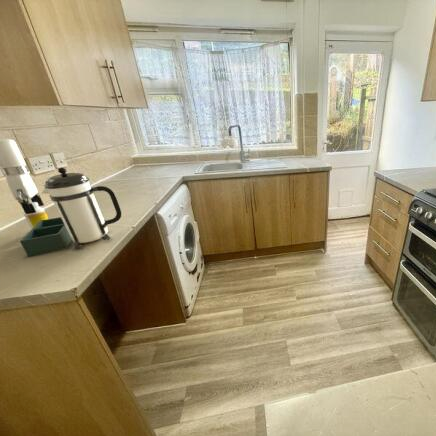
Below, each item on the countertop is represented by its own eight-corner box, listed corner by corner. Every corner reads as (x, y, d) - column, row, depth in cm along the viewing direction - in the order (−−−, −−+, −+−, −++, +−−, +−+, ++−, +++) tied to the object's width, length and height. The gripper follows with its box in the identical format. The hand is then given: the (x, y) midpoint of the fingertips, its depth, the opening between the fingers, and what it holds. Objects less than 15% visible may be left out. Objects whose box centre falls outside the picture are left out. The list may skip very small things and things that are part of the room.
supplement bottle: (57, 227, 112) (43, 201, 107) (39, 234, 106) (24, 207, 101) (48, 226, 114) (34, 200, 109) (30, 232, 108) (15, 206, 103)
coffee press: (94, 250, 92) (59, 172, 80) (60, 248, 95) (20, 172, 83) (129, 229, 108) (104, 161, 95) (98, 228, 111) (70, 162, 98)
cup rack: (27, 256, 90) (19, 241, 87) (47, 233, 107) (40, 220, 104) (66, 248, 95) (59, 233, 92) (78, 228, 112) (73, 215, 109)
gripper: (12, 168, 105) (31, 205, 112) (-8, 176, 91) (15, 218, 98) (35, 165, 108) (52, 202, 115) (19, 173, 94) (39, 214, 101)
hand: (35, 209), depth 106 cm, fingers open, 9 cm apart
